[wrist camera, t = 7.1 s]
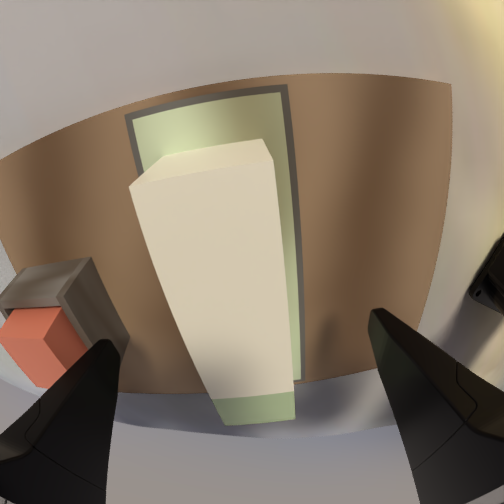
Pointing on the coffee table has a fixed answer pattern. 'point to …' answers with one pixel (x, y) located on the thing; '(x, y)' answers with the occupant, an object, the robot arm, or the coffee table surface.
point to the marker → (224, 273)
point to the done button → (42, 343)
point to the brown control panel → (290, 210)
